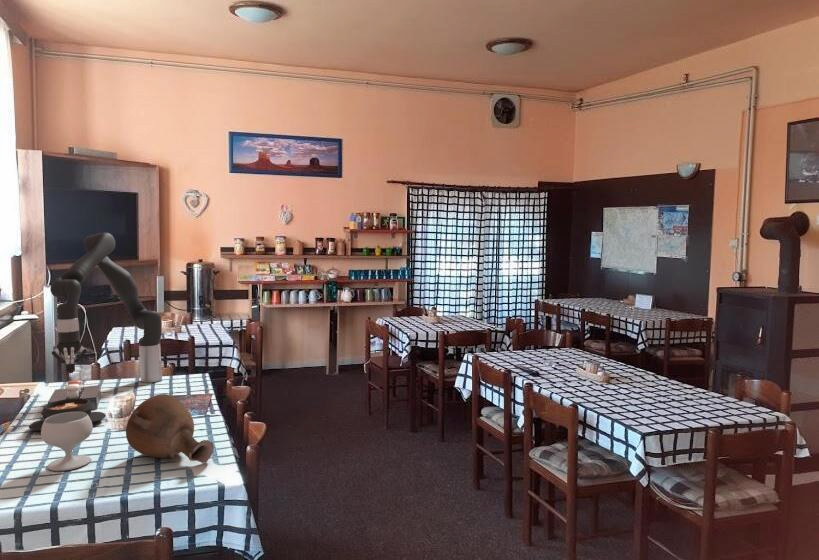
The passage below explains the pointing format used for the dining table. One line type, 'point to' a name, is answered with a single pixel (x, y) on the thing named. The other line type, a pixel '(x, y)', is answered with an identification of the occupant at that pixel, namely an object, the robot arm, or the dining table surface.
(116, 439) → the dining table surface
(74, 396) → the knob
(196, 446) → the jug
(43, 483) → the dining table surface
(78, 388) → the middle knob
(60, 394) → the control box
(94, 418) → the casserole
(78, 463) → the chalice
